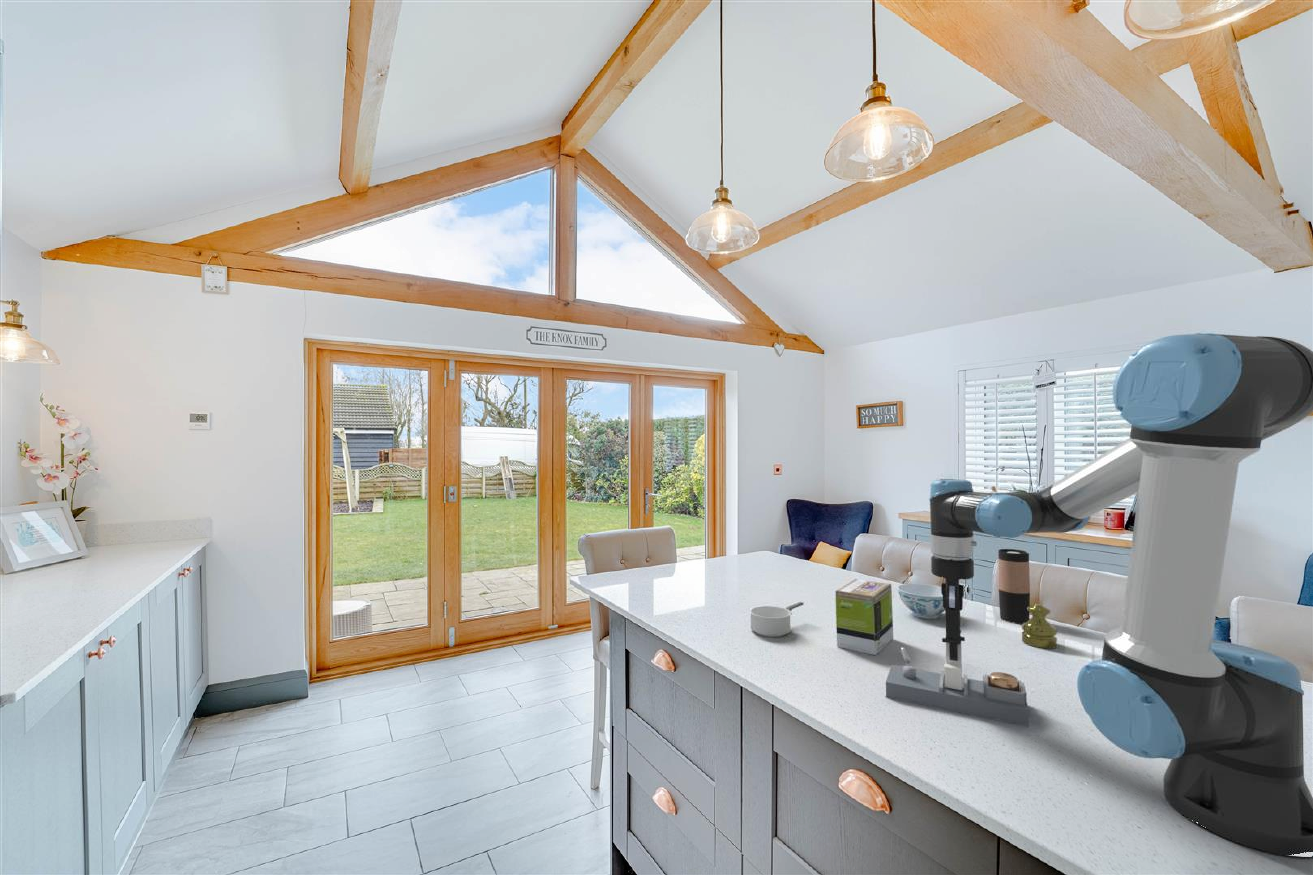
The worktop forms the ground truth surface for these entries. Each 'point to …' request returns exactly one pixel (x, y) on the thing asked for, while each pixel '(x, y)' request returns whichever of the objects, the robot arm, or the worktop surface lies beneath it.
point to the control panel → (958, 694)
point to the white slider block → (953, 676)
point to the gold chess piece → (1039, 628)
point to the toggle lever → (905, 655)
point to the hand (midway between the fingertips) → (954, 674)
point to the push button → (1003, 681)
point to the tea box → (864, 616)
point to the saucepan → (771, 619)
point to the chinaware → (922, 599)
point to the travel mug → (1014, 585)
